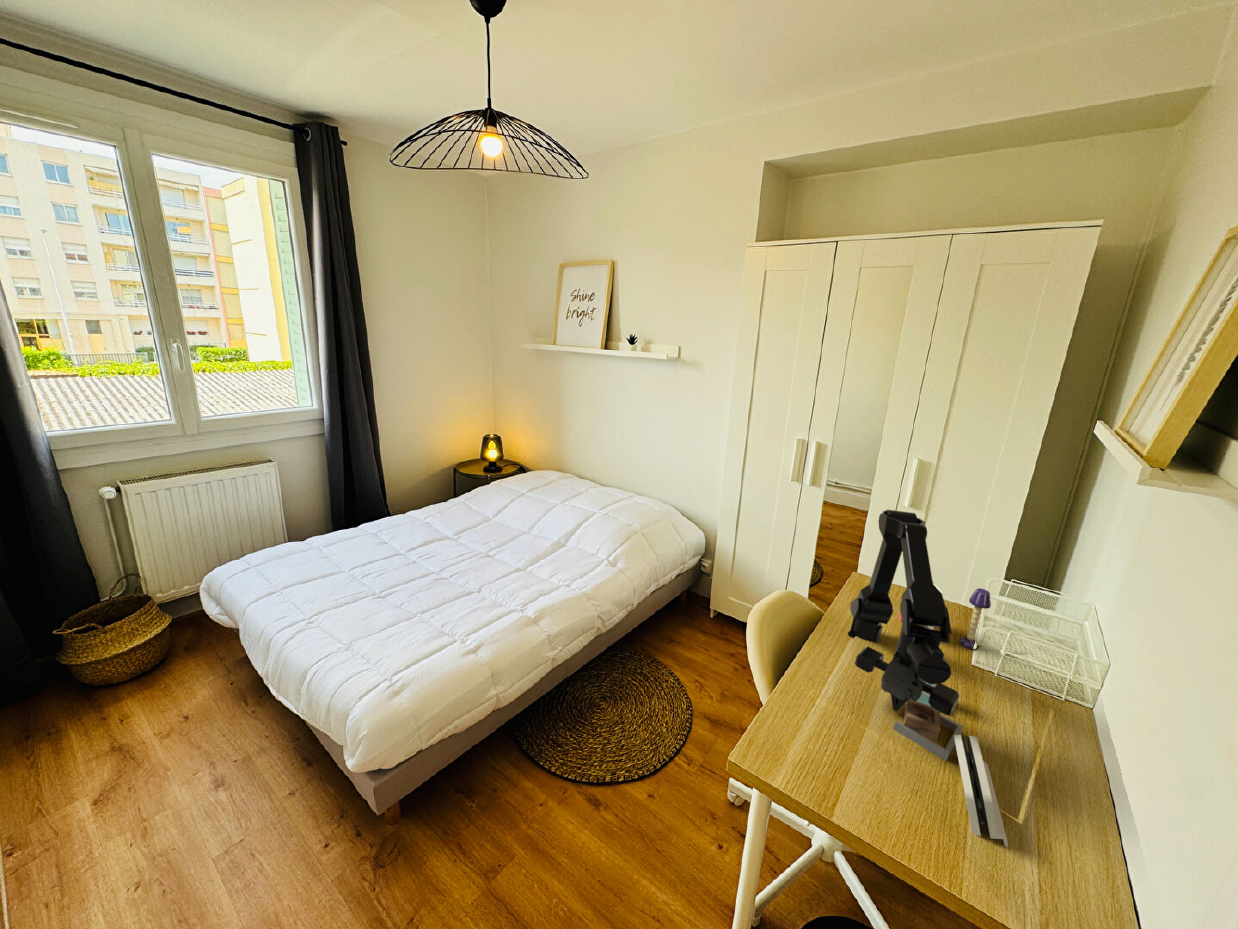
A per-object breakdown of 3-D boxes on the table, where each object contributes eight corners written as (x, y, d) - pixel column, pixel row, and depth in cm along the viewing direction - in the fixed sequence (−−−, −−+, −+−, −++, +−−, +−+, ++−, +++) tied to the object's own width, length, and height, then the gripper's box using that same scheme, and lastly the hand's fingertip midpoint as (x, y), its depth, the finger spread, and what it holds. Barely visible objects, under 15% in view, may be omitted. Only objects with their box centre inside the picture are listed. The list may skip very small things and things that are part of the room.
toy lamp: (954, 642, 132) (970, 589, 127) (959, 636, 135) (975, 584, 130) (975, 652, 128) (992, 598, 123) (980, 645, 131) (997, 592, 126)
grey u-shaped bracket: (892, 732, 101) (895, 722, 100) (909, 707, 108) (912, 698, 107) (945, 764, 94) (948, 754, 93) (960, 735, 101) (963, 726, 100)
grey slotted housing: (1008, 849, 79) (1000, 797, 78) (973, 842, 81) (964, 791, 80) (988, 770, 93) (980, 725, 92) (959, 766, 96) (951, 722, 94)
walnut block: (902, 730, 101) (906, 715, 100) (903, 712, 106) (907, 697, 105) (935, 744, 98) (940, 729, 97) (935, 725, 103) (939, 710, 102)
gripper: (851, 642, 102) (837, 702, 106) (952, 694, 88) (932, 759, 93) (872, 623, 109) (858, 679, 113) (968, 668, 96) (948, 730, 100)
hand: (895, 710), depth 105 cm, fingers closed
